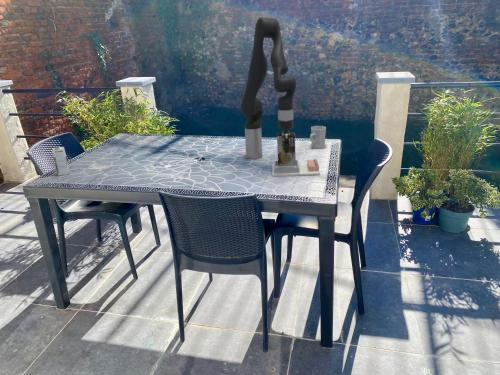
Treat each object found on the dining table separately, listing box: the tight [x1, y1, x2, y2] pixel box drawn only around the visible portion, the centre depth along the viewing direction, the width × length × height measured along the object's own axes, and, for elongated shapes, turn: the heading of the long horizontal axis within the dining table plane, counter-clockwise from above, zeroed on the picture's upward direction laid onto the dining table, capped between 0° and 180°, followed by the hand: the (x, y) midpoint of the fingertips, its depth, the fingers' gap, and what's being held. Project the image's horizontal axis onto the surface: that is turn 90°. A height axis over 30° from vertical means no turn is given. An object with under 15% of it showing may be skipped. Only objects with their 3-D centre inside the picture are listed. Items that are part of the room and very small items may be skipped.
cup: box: [309, 125, 327, 150], centre depth 239 cm, size 10×9×12 cm
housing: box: [271, 159, 321, 178], centre depth 205 cm, size 24×16×4 cm
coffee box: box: [276, 131, 297, 166], centre depth 202 cm, size 9×6×16 cm
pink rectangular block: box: [306, 158, 320, 172], centre depth 204 cm, size 5×10×3 cm, turn 177°
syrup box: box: [51, 146, 70, 177], centre depth 217 cm, size 6×6×14 cm
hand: (286, 150), depth 202 cm, fingers closed on coffee box, 6 cm apart
